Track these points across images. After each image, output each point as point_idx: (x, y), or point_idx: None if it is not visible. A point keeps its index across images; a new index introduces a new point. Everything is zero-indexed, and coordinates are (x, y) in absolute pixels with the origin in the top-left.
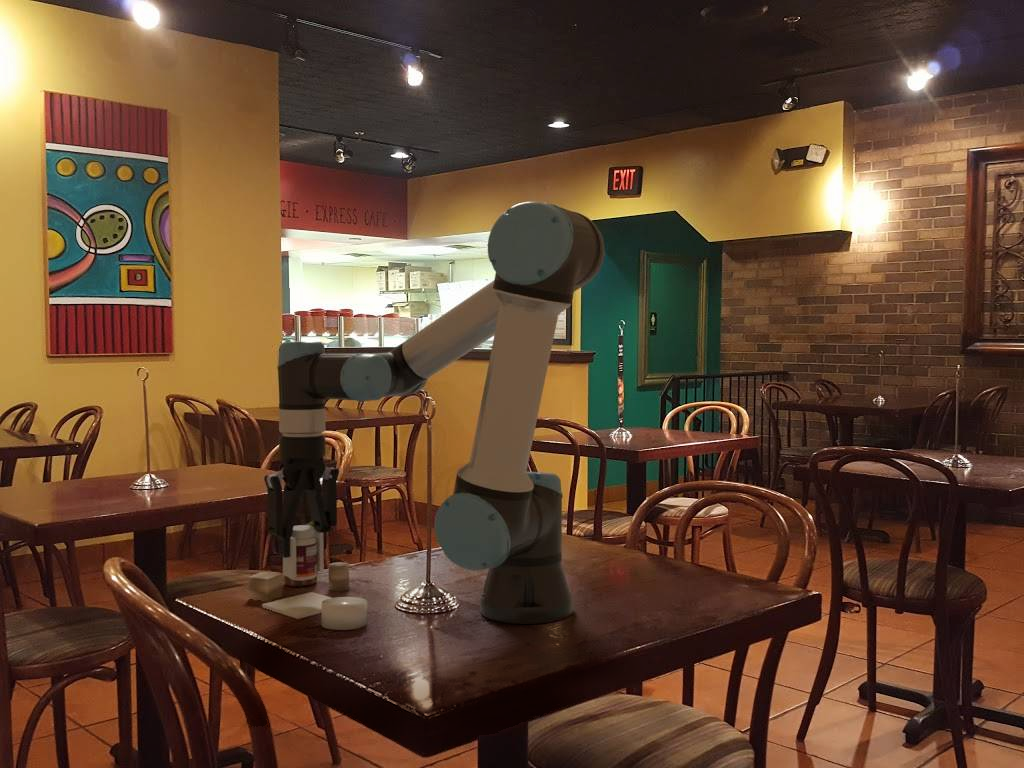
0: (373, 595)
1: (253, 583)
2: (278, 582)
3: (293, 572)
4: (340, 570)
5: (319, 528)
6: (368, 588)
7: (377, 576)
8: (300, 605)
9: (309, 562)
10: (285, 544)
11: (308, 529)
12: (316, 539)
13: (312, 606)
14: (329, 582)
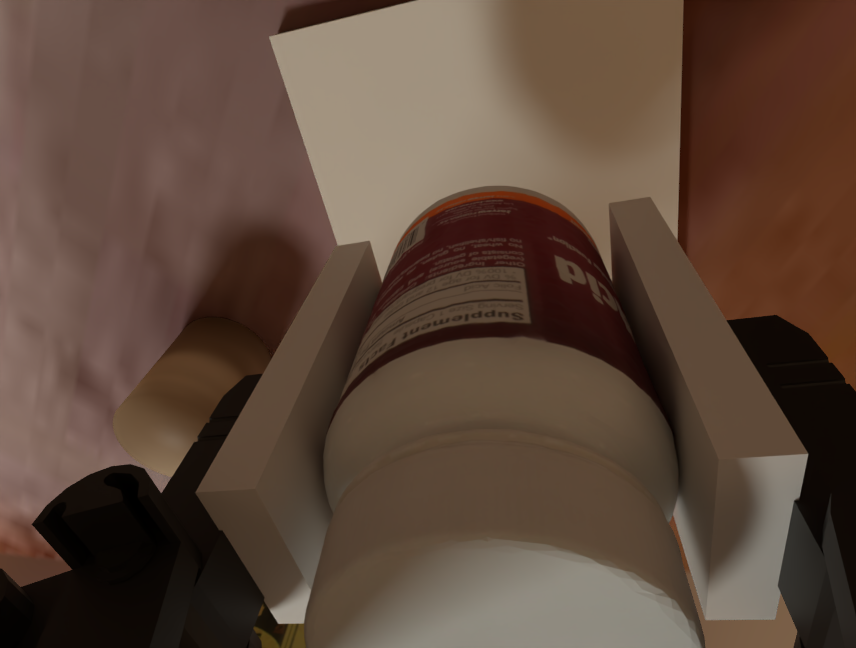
0: (86, 149)
1: None
2: None
3: (648, 217)
4: (180, 386)
5: (213, 594)
6: (92, 282)
7: (27, 412)
8: (538, 158)
9: (488, 235)
10: (849, 426)
11: (461, 555)
12: (310, 468)
13: (492, 89)
14: None
